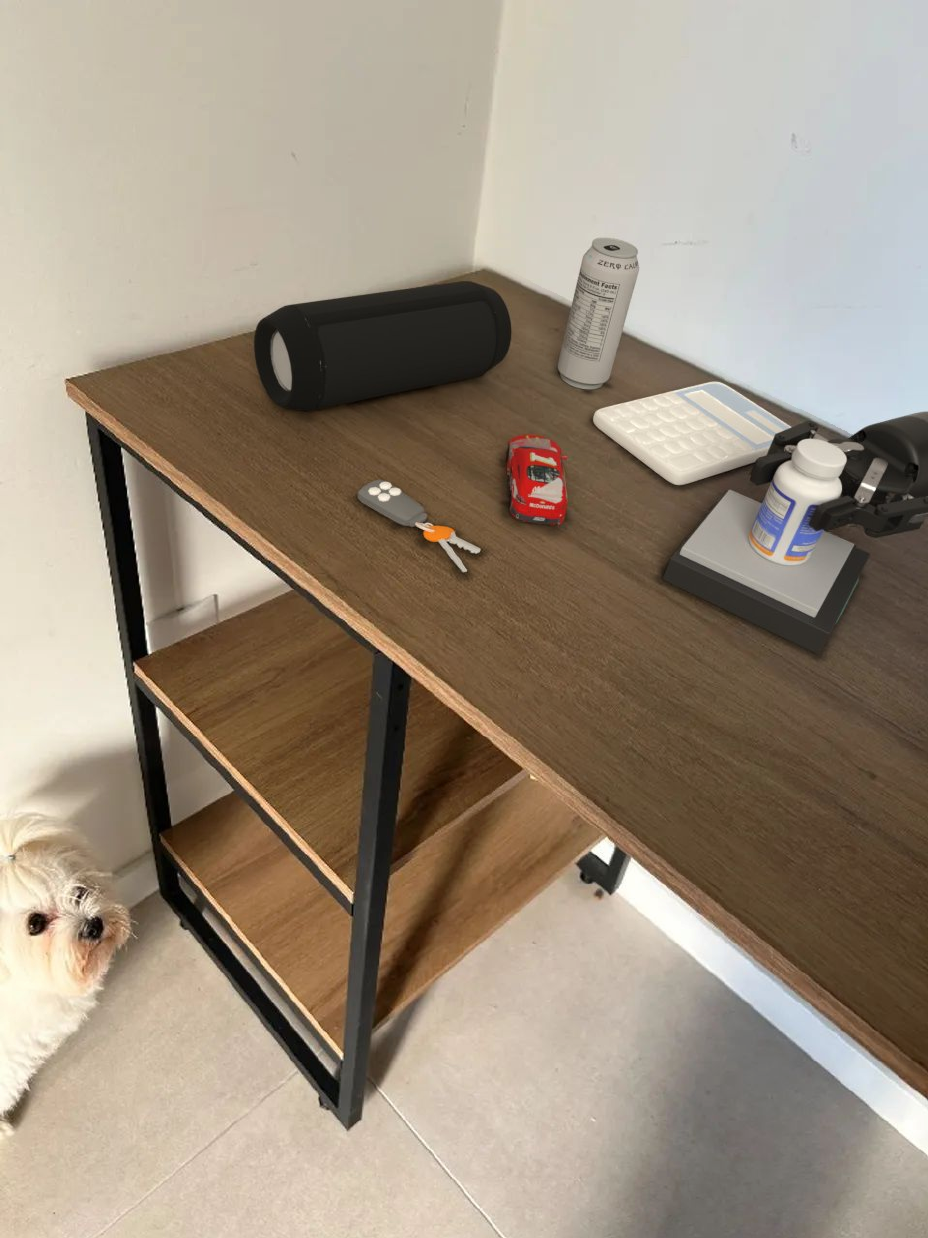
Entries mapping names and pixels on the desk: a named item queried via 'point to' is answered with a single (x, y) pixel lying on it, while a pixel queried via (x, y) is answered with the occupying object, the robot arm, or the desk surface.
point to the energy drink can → (598, 312)
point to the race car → (536, 480)
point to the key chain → (410, 516)
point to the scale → (766, 575)
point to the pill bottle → (797, 502)
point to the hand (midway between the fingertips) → (785, 495)
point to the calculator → (691, 431)
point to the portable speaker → (380, 343)
